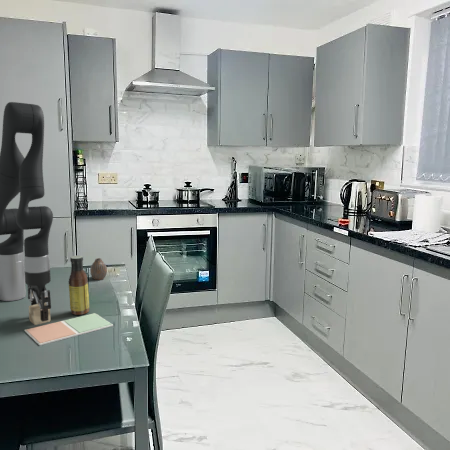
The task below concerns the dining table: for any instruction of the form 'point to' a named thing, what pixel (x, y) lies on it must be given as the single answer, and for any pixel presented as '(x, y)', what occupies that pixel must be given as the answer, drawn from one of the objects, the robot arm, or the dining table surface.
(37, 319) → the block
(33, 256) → the robot arm
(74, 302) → the sauce bottle
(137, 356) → the dining table surface
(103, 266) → the brown rounded lump
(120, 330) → the dining table surface
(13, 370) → the dining table surface
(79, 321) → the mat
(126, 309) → the dining table surface
